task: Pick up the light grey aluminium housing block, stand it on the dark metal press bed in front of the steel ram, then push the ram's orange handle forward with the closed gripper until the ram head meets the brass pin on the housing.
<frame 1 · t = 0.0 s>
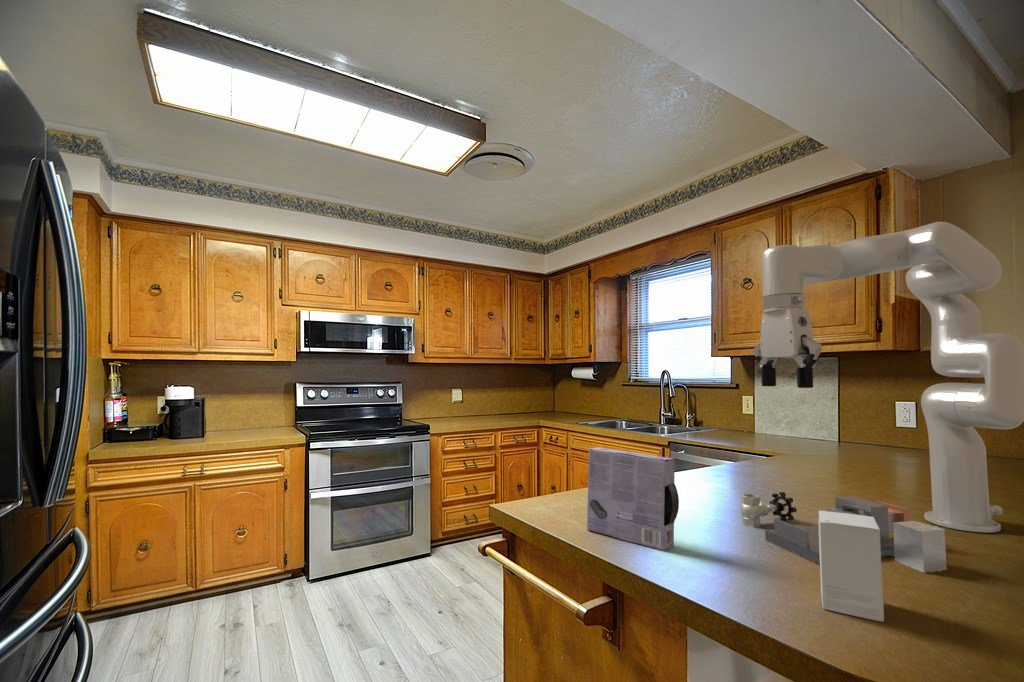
hand: (786, 386, 100), 31 cm above the counter, tool pointing down, fingers open, 9 cm apart
press bed: (833, 547, 95), on the counter
supplement box: (851, 607, 71), on the counter
housing: (920, 566, 86), on the counter
ram: (866, 520, 97), point 5 cm above the counter, slide at 0.0 cm
cake pan box: (631, 539, 100), on the counter
valve: (764, 524, 110), on the counter
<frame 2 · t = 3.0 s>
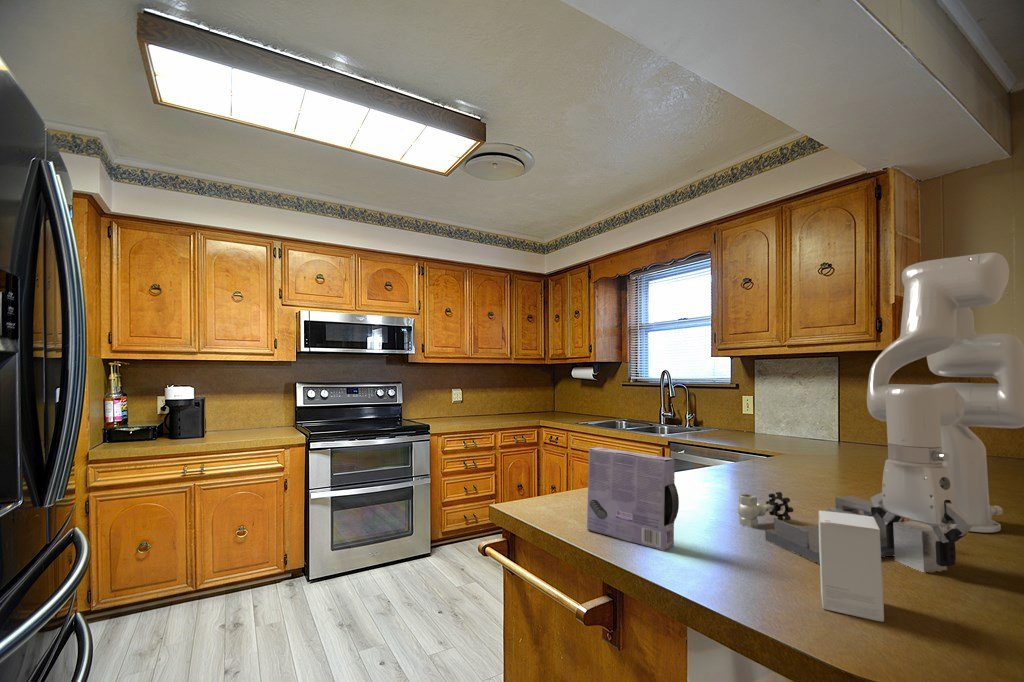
hand: (919, 555, 85), 2 cm above the counter, tool pointing down, fingers open, 7 cm apart
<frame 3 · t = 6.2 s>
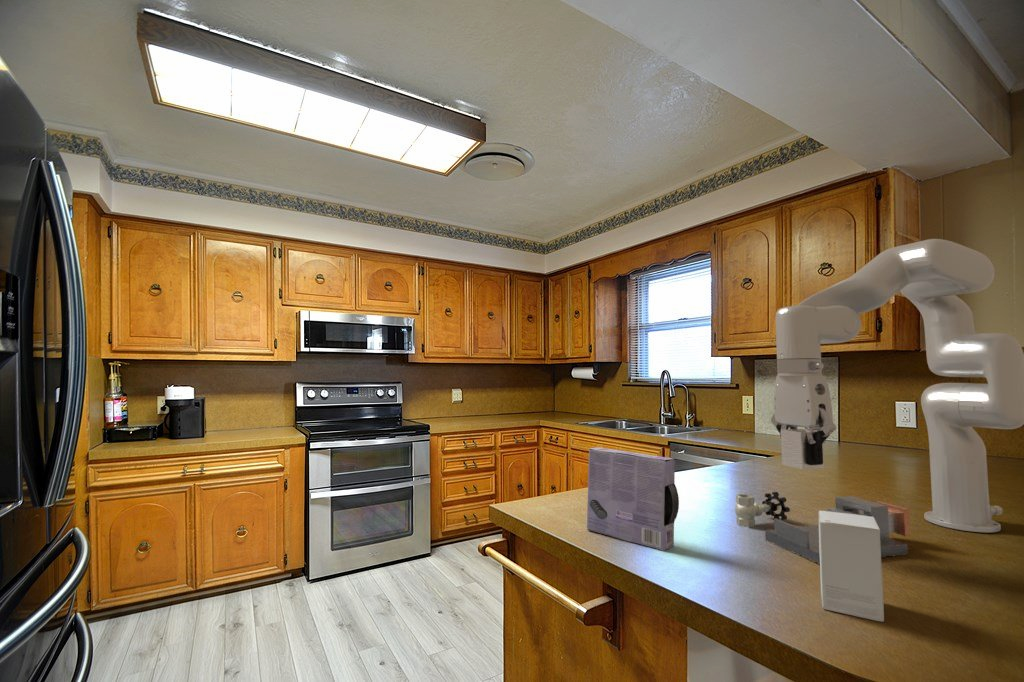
hand: (802, 460, 94), 17 cm above the counter, tool pointing down, fingers closed on housing, 5 cm apart
housing: (802, 466, 94), point 16 cm above the counter, touching gripper
when the fingers open (4 cm above the counter, at t = 8.9 s): housing stays where it is, resting on press bed.
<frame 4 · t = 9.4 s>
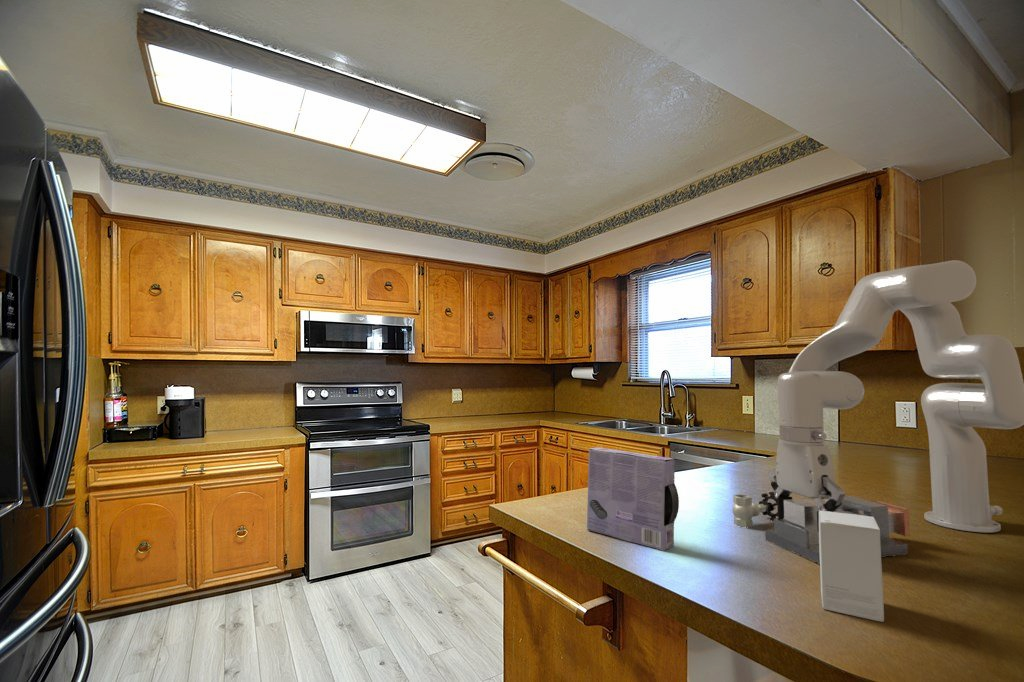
hand: (804, 524, 94), 5 cm above the counter, tool pointing down, fingers open, 9 cm apart
housing: (805, 539, 93), point 2 cm above the counter, touching press bed
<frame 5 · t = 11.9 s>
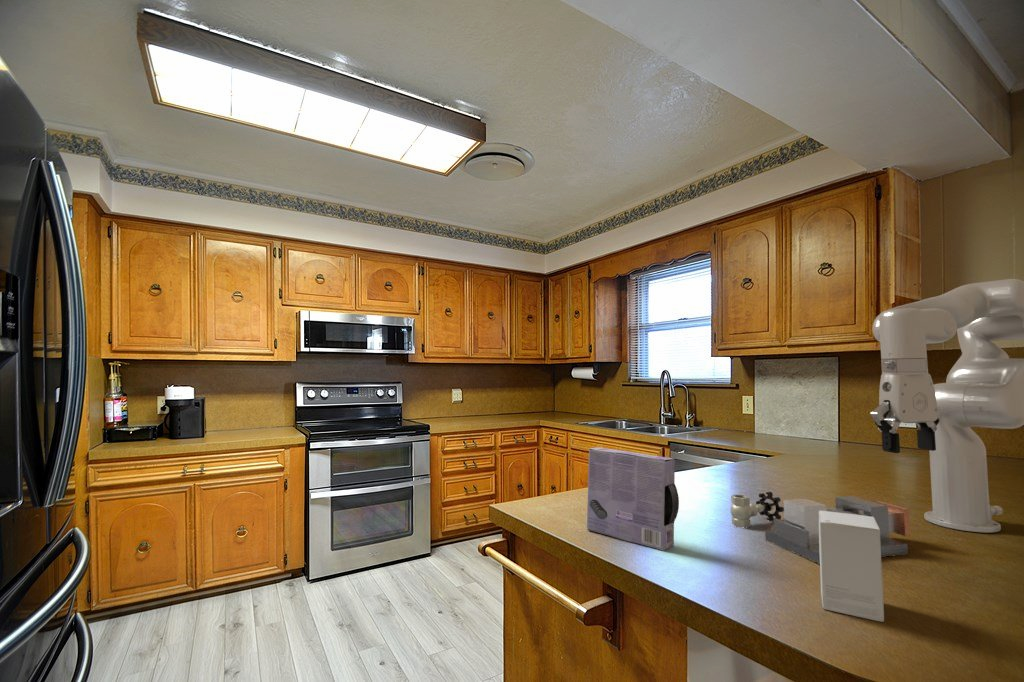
hand: (909, 450, 100), 18 cm above the counter, tool pointing down, fingers open, 8 cm apart
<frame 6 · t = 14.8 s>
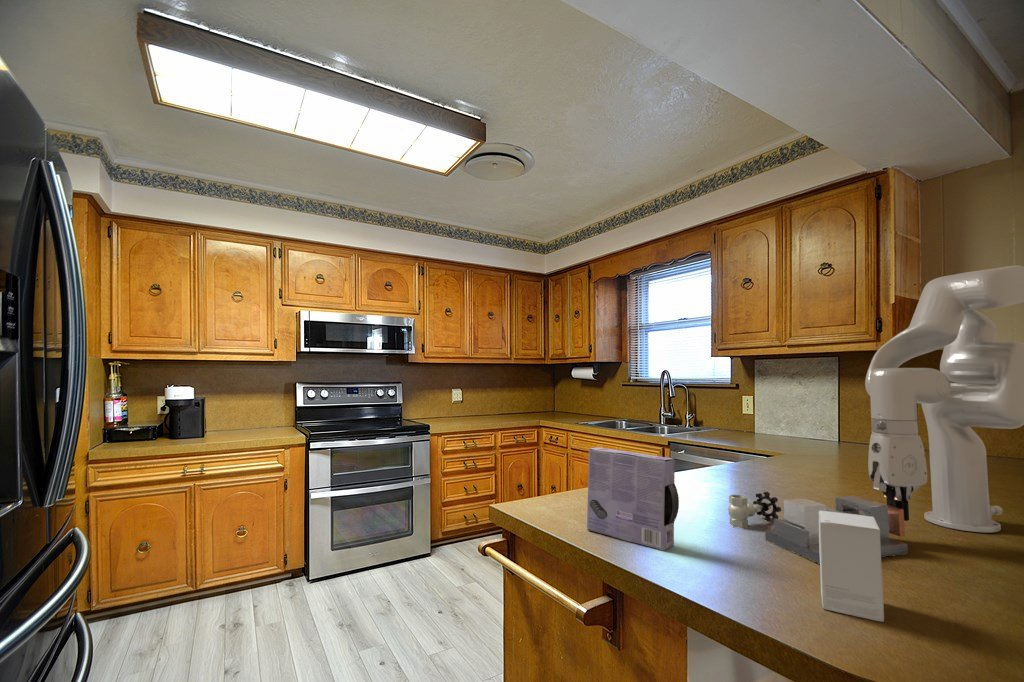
hand: (898, 518, 98), 4 cm above the counter, tool pointing down, fingers closed
ram: (861, 520, 97), point 5 cm above the counter, slide at 1.3 cm, touching gripper
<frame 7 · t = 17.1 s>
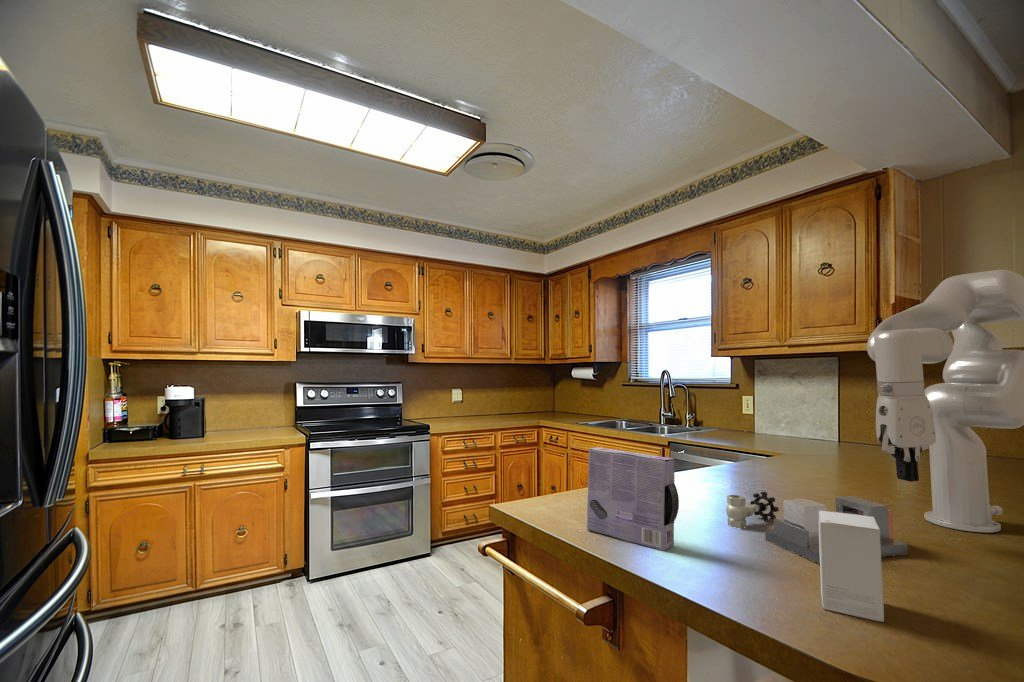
hand: (907, 479, 99), 12 cm above the counter, tool pointing down, fingers closed
housing: (805, 539, 93), point 2 cm above the counter, touching press bed, ram
ram: (850, 521, 96), point 5 cm above the counter, slide at 4.1 cm, touching housing, press bed
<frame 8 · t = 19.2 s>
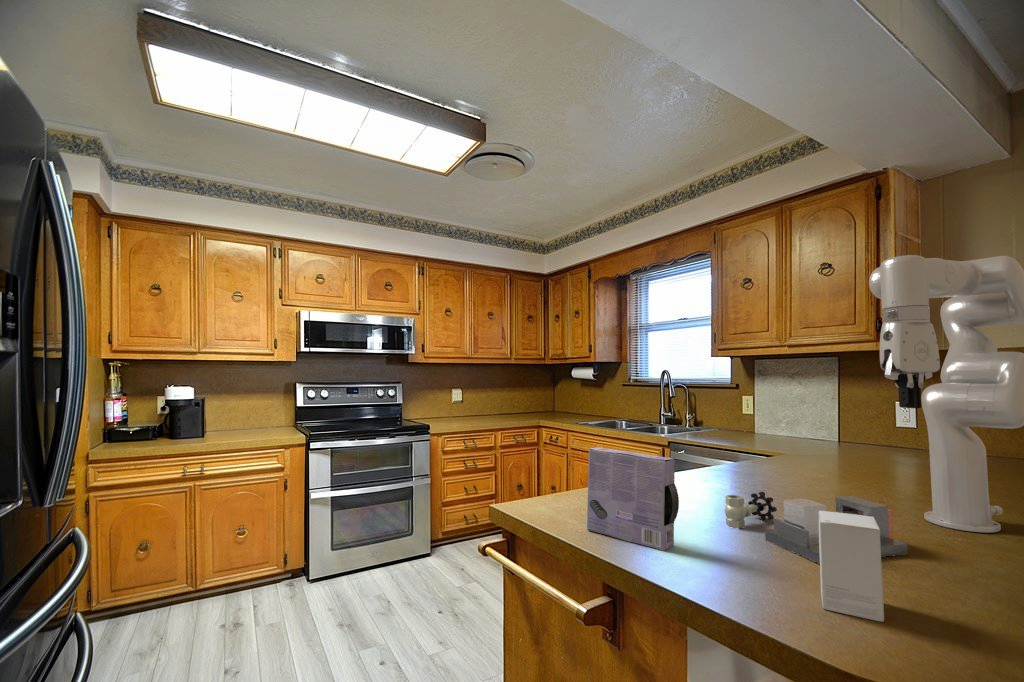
hand: (910, 407, 97), 27 cm above the counter, tool pointing down, fingers closed
at the end: housing inside the target area (0.1 cm from its centre), point 2.0 cm above the counter; housing tilted 0°; ram slide at 4.1 cm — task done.
